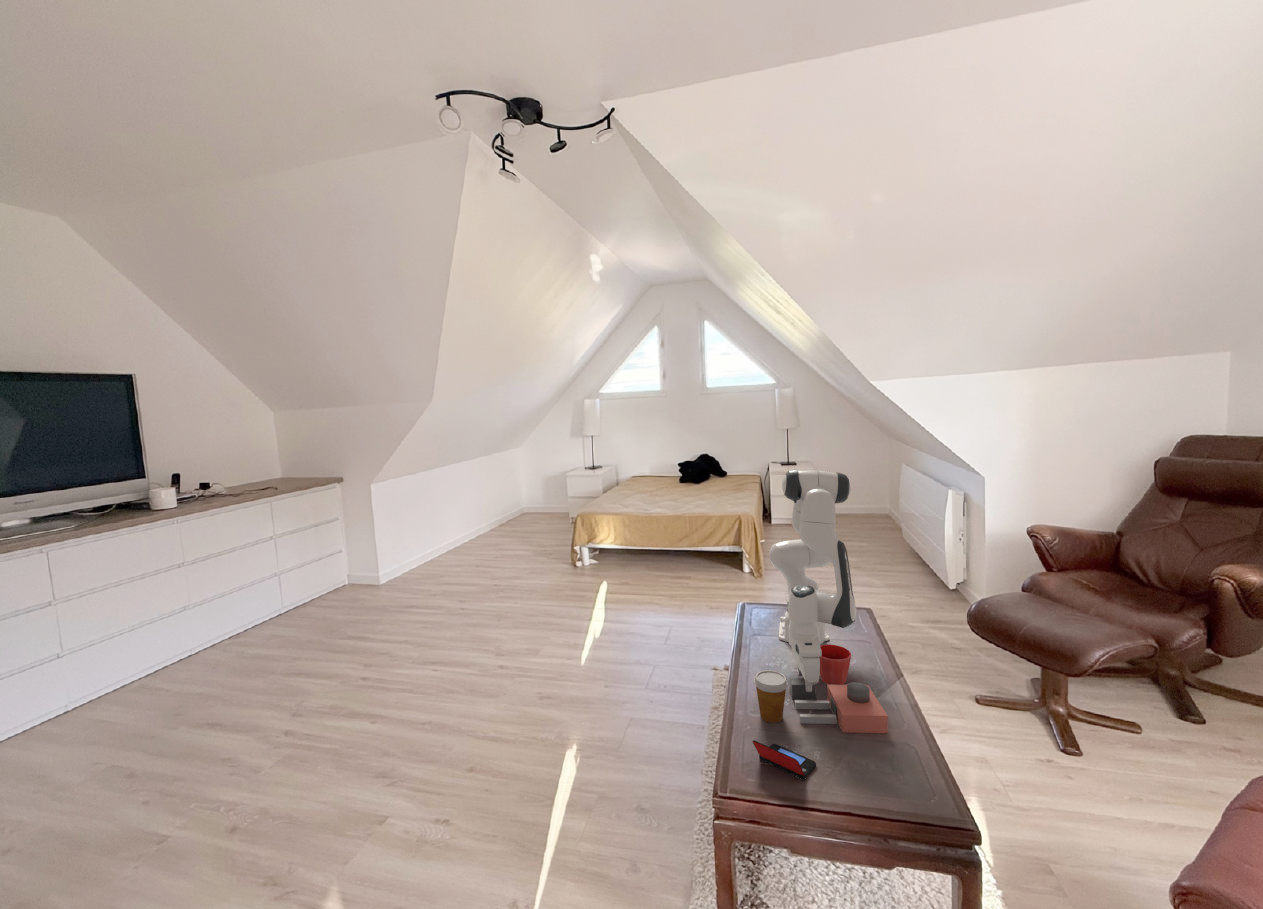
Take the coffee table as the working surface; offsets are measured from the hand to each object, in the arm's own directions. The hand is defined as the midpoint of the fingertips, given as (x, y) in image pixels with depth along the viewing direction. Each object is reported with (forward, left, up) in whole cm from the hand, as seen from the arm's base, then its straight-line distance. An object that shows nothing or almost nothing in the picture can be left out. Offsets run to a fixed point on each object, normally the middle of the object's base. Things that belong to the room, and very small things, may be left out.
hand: (804, 682), depth 165 cm
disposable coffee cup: (+10, -12, -5) cm, 17 cm away
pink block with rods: (+9, +7, -5) cm, 13 cm away
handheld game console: (+32, -12, -5) cm, 34 cm away
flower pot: (-11, +11, -5) cm, 16 cm away
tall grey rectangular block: (-1, -1, -5) cm, 5 cm away
